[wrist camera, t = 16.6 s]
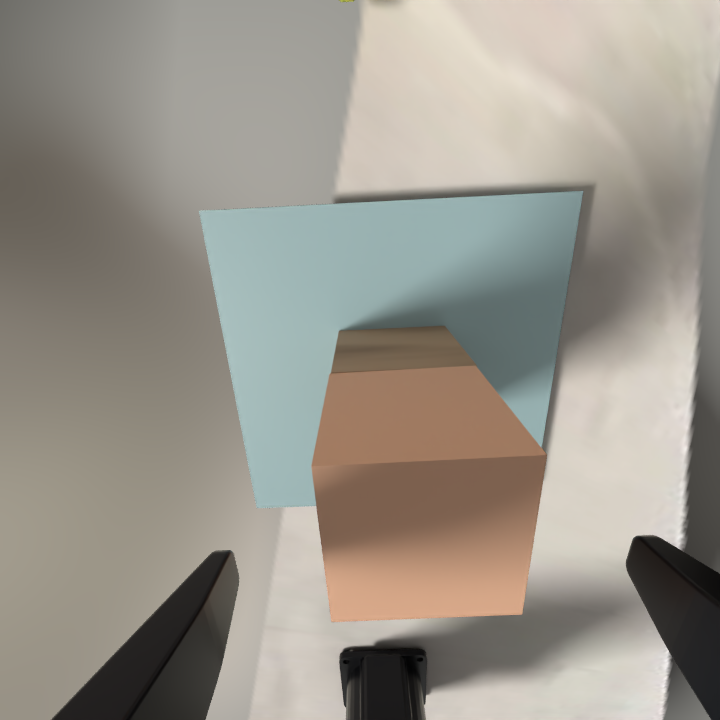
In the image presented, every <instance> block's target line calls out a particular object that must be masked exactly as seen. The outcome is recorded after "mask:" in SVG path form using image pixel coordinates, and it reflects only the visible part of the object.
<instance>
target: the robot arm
mask: <svg viewBox="0 0 720 720" xmlns="http://www.w3.org/2000/svg"><path fill="white" fill-rule="evenodd" d="M626 568H627V571H628V574H629V576H630V578H631V580H632V582H633V584H634V586H635V588H636V590H637V591H638V593H639V595H640V597H641V599H642V601H643V603H644V605H645V607H646V609H647V611H648V613H649V615H650V616H651V618H652V620H653V622H654V624H655V626H656V628H657V630H658V632H659V634H660V636H661V638H662V639H663V641H664V643H665V645H666V647H667V648H668V650H669V652H670V654H671V655H672V657H673V659H674V660H675V662H676V664H677V665H678V667H679V669H680V670H681V672H682V673H683V675H684V677H685V678H686V680H687V682H688V683H689V685H690V686H691V688H692V689H693V691H694V693H695V694H696V696H697V698H698V699H699V701H700V702H701V704H702V705H703V707H704V709H705V710H706V712H707V714H708V715H709V717H710V718H711V720H720V574H719V573H718V572H716V571H714V570H713V569H711V568H709V567H708V566H706V565H704V564H703V563H701V562H699V561H698V560H696V559H694V558H693V557H691V556H690V555H688V554H686V553H685V552H683V551H681V550H680V549H678V548H676V547H675V546H673V545H671V544H670V543H668V542H666V541H665V540H663V539H661V538H659V537H657V536H654V535H643V536H636V537H634V538H633V540H632V543H631V546H630V550H629V553H628V556H627V559H626ZM238 586H239V573H238V569H237V565H236V561H235V557H234V554H233V552H232V551H231V550H218V551H214V552H212V553H211V554H210V555H209V556H208V557H207V558H206V559H205V560H204V561H203V562H202V563H201V564H200V565H199V567H197V569H196V570H195V571H194V572H193V573H192V574H191V575H190V576H189V577H188V578H187V579H186V580H185V581H184V582H183V583H182V584H181V585H180V586H179V587H178V589H176V590H175V591H174V592H173V593H172V594H171V595H170V597H169V598H168V599H167V600H166V601H165V602H164V603H163V604H162V605H161V606H160V607H159V608H158V609H157V610H156V611H155V612H154V613H153V614H152V615H151V616H150V617H149V618H148V619H147V620H146V621H145V623H144V624H143V625H142V626H141V627H140V628H139V629H138V630H137V631H136V632H135V633H134V634H133V635H132V636H131V637H130V638H129V639H128V640H127V642H125V643H124V644H123V645H122V646H121V648H119V650H118V651H117V652H116V653H115V654H114V655H113V656H112V657H111V658H110V659H109V660H108V661H107V662H106V663H105V664H104V665H103V666H102V667H101V668H100V669H99V670H98V672H97V673H95V674H94V676H93V677H92V678H91V679H90V680H89V681H88V682H87V683H86V684H85V685H84V686H83V687H82V688H81V689H80V690H79V691H78V692H77V693H76V694H75V695H74V696H73V697H72V698H71V699H70V700H69V701H68V702H67V704H66V705H65V706H64V707H63V708H62V709H61V710H60V711H59V712H58V713H57V714H56V715H55V716H54V717H53V718H52V720H205V719H206V716H207V713H208V710H209V706H210V703H211V700H212V697H213V693H214V690H215V687H216V684H217V680H218V677H219V673H220V670H221V666H222V661H223V658H224V653H225V648H226V644H227V639H228V634H229V629H230V625H231V620H232V615H233V610H234V606H235V601H236V596H237V591H238ZM339 663H340V672H341V681H342V691H343V700H344V706H345V707H346V720H426V717H425V709H424V704H425V700H426V669H427V657H426V652H425V651H424V650H422V649H412V650H380V651H348V652H342V653H341V654H340V660H339Z"/></svg>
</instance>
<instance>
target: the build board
mask: <svg viewBox="0 0 720 720" xmlns="http://www.w3.org/2000/svg"><path fill="white" fill-rule="evenodd" d="M582 196H583V191H571V192H552V193H532V194H513V195H494V196H475V197H455V198H436V199H417V200H397V201H378V202H359V203H340V204H322V205H301V206H282V207H263V208H243V209H224V210H207V211H206V210H205V211H199V213H200V218H201V224H202V228H203V234H204V239H205V244H206V249H207V255H208V260H209V265H210V270H211V275H212V280H213V285H214V291H215V296H216V301H217V306H218V311H219V316H220V321H221V327H222V331H223V337H224V341H225V347H226V352H227V357H228V362H229V367H230V373H231V378H232V383H233V388H234V393H235V398H236V403H237V408H238V413H239V419H240V424H241V429H242V434H243V439H244V444H245V450H246V455H247V460H248V465H249V470H250V476H251V481H252V486H253V491H254V496H255V501H256V506H257V508H273V507H300V506H316V499H315V491H314V484H313V476H312V469H311V465H312V460H313V455H314V450H315V445H316V440H317V435H318V430H319V425H320V419H321V414H322V409H323V404H324V399H325V394H326V389H327V384H328V379H329V374H330V373H331V369H332V364H333V359H334V353H335V348H336V343H337V338H338V332H339V331H344V330H365V329H385V328H406V327H426V326H445V327H446V328H447V329H448V330H449V332H450V333H451V334H452V335H453V336H454V338H455V339H456V340H457V341H458V343H459V344H460V345H461V346H462V348H463V349H464V350H465V351H466V353H467V354H468V355H469V356H470V358H471V359H472V360H473V361H474V363H475V364H476V365H477V368H478V369H479V370H480V372H481V373H482V374H483V375H484V377H485V378H486V379H487V380H488V382H489V383H490V384H491V385H492V387H493V388H494V389H495V390H496V392H497V393H498V394H499V395H500V397H501V398H502V399H503V400H504V402H505V403H506V404H507V405H508V407H509V408H510V409H511V410H512V412H513V413H514V414H515V415H516V417H517V418H518V419H519V420H520V422H521V423H522V424H523V425H524V427H525V428H526V429H527V430H528V432H529V433H530V434H531V435H532V437H533V438H534V439H535V440H536V442H537V443H538V444H539V445H540V447H541V448H542V443H543V437H544V431H545V424H546V418H547V412H548V406H549V400H550V393H551V387H552V381H553V375H554V369H555V363H556V356H557V350H558V344H559V338H560V332H561V326H562V319H563V313H564V307H565V301H566V295H567V288H568V282H569V276H570V270H571V264H572V258H573V251H574V245H575V239H576V233H577V227H578V221H579V214H580V208H581V202H582Z"/></svg>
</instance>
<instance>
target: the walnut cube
mask: <svg viewBox="0 0 720 720" xmlns="http://www.w3.org/2000/svg"><path fill="white" fill-rule="evenodd" d="M458 366H477V365H476V364H475V363H474V361H473V360H472V359H471V358H470V356H469V355H468V354H467V353H466V351H465V350H464V349H463V348H462V346H461V345H460V344H459V343H458V341H457V340H456V339H455V338H454V336H453V335H452V334H451V333H450V332H449V330H448V329H447V328H446V327H445V326H426V327H406V328H385V329H365V330H344V331H339V332H338V338H337V343H336V348H335V353H334V359H333V364H332V369H331V373H347V372H365V371H384V370H402V369H421V368H439V367H458Z"/></svg>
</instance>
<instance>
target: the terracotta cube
mask: <svg viewBox="0 0 720 720" xmlns="http://www.w3.org/2000/svg"><path fill="white" fill-rule="evenodd" d="M546 459H547V454H546V453H545V452H544V450H543V449H542V448H541V447H540V445H539V444H538V443H537V442H536V440H535V439H534V438H533V437H532V435H531V434H530V433H529V432H528V430H527V429H526V428H525V427H524V425H523V424H522V423H521V422H520V420H519V419H518V418H517V417H516V415H515V414H514V413H513V412H512V410H511V409H510V408H509V407H508V405H507V404H506V403H505V402H504V400H503V399H502V398H501V397H500V395H499V394H498V393H497V392H496V390H495V389H494V388H493V387H492V385H491V384H490V383H489V382H488V380H487V379H486V378H485V377H484V375H483V374H482V373H481V372H480V370H479V369H478V368H477V366H458V367H439V368H421V369H402V370H384V371H365V372H347V373H330V374H329V379H328V384H327V389H326V394H325V399H324V404H323V409H322V414H321V419H320V425H319V430H318V435H317V440H316V445H315V450H314V455H313V460H312V465H311V469H312V476H313V484H314V491H315V499H316V507H317V514H318V522H319V530H320V537H321V545H322V553H323V560H324V568H325V576H326V583H327V591H328V598H329V606H330V614H331V621H332V622H344V621H369V620H394V619H420V618H445V617H470V616H496V615H521V614H522V612H523V606H524V599H525V593H526V586H527V580H528V574H529V567H530V561H531V555H532V548H533V542H534V535H535V529H536V523H537V516H538V510H539V504H540V497H541V491H542V484H543V478H544V472H545V465H546Z"/></svg>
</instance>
